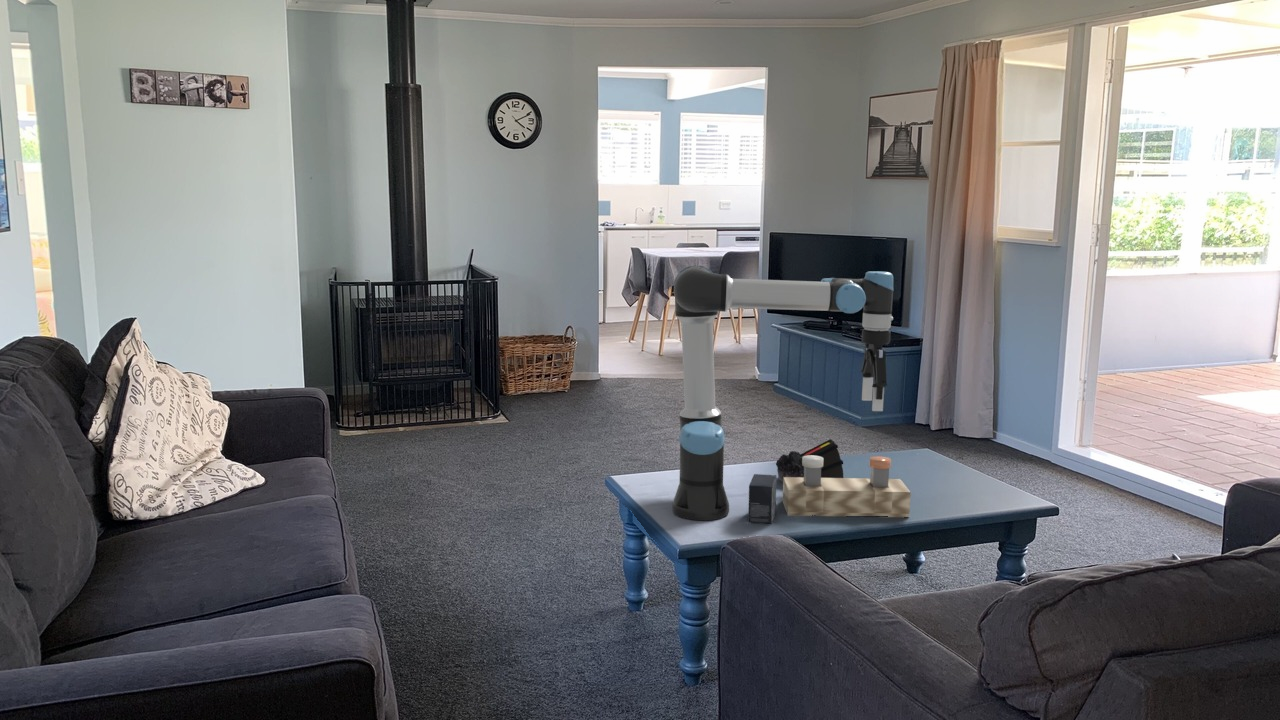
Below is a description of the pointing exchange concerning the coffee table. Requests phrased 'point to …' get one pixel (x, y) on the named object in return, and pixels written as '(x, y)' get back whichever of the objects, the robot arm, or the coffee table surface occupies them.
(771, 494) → the small box
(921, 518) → the coffee table surface
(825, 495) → the block
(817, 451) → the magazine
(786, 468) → the black rock
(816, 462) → the pale plunger
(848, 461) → the coffee table surface
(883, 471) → the terracotta plunger
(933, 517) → the coffee table surface
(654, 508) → the coffee table surface
